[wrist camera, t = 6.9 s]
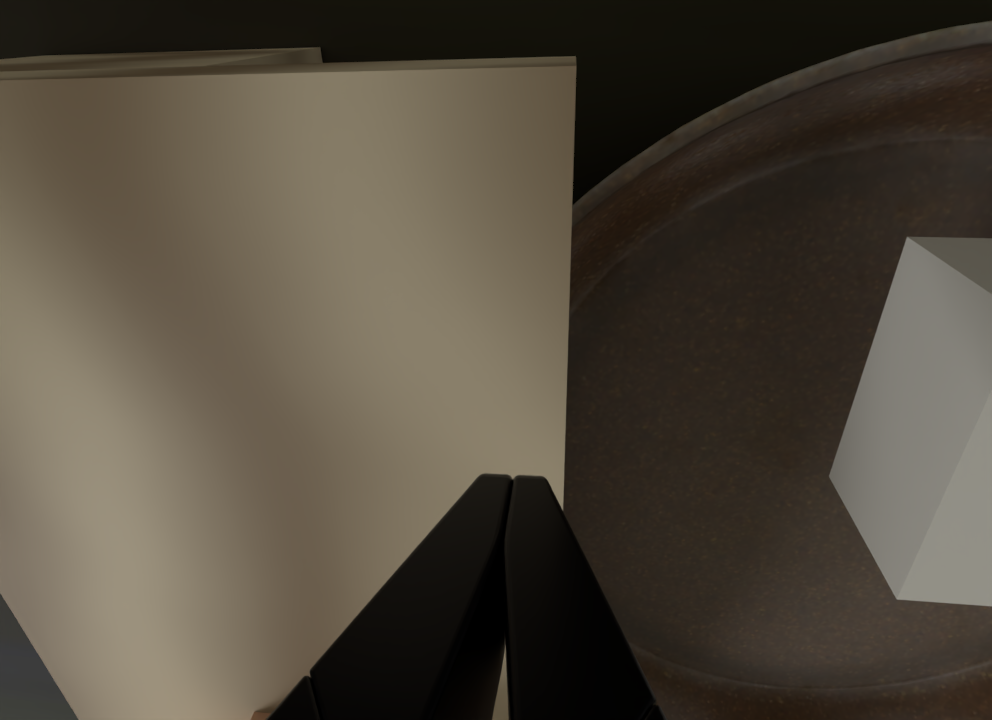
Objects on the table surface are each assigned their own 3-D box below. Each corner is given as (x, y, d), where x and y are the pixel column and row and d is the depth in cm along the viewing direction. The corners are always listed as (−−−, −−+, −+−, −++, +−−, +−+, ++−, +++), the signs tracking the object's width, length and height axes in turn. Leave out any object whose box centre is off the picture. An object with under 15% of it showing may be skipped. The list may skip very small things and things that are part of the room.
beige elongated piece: (255, 661, 23) (162, 854, 18) (42, 55, 13) (-313, 88, 8) (556, 685, 22) (551, 900, 16) (574, 39, 12) (576, 66, 7)
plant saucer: (307, 225, 15) (241, 279, 12) (1495, -223, 9) (1917, -329, 6) (573, 729, 23) (573, 830, 21) (1258, 655, 18) (1388, 778, 15)
